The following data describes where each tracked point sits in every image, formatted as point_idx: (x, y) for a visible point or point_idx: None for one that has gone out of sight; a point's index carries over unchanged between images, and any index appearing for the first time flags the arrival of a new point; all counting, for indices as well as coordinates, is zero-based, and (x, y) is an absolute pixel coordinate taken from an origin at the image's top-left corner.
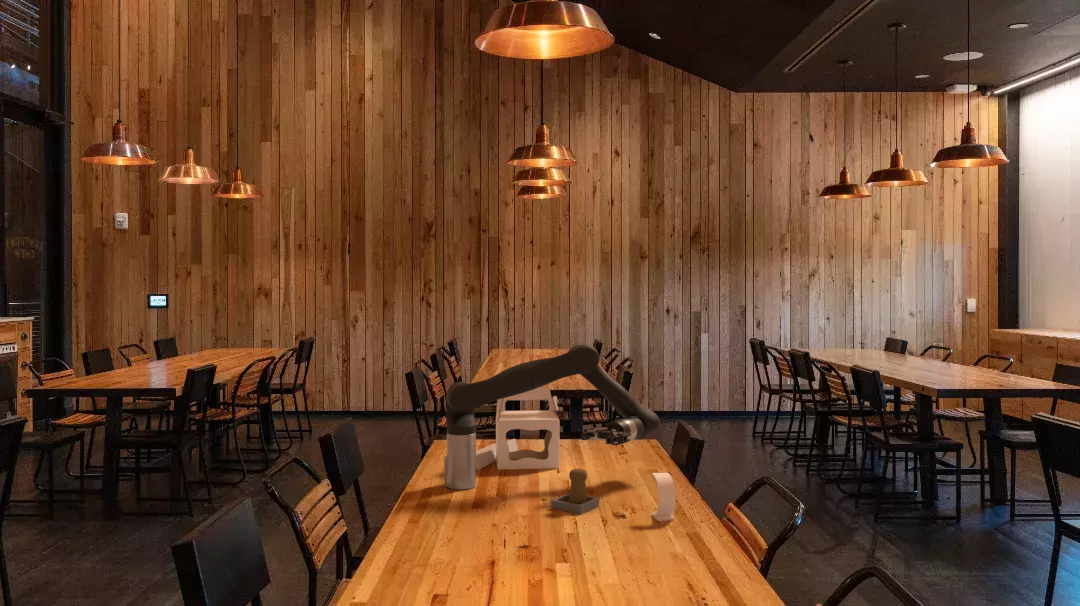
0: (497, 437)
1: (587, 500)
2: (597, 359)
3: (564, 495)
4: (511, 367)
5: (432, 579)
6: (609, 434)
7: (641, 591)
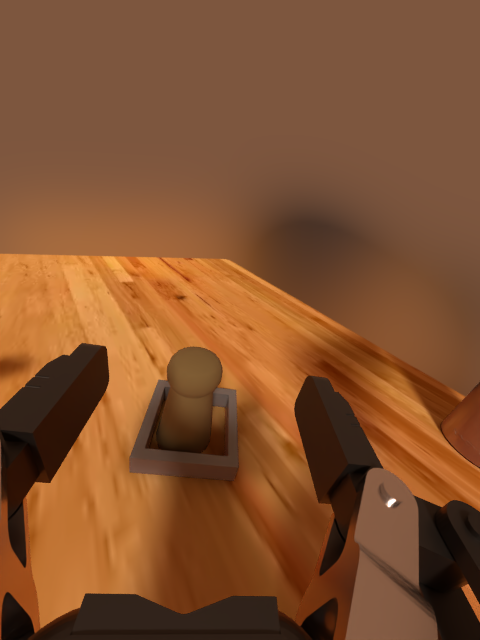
0: None
1: (160, 428)
2: None
3: (234, 432)
4: None
5: (206, 267)
6: (85, 608)
7: (38, 258)
